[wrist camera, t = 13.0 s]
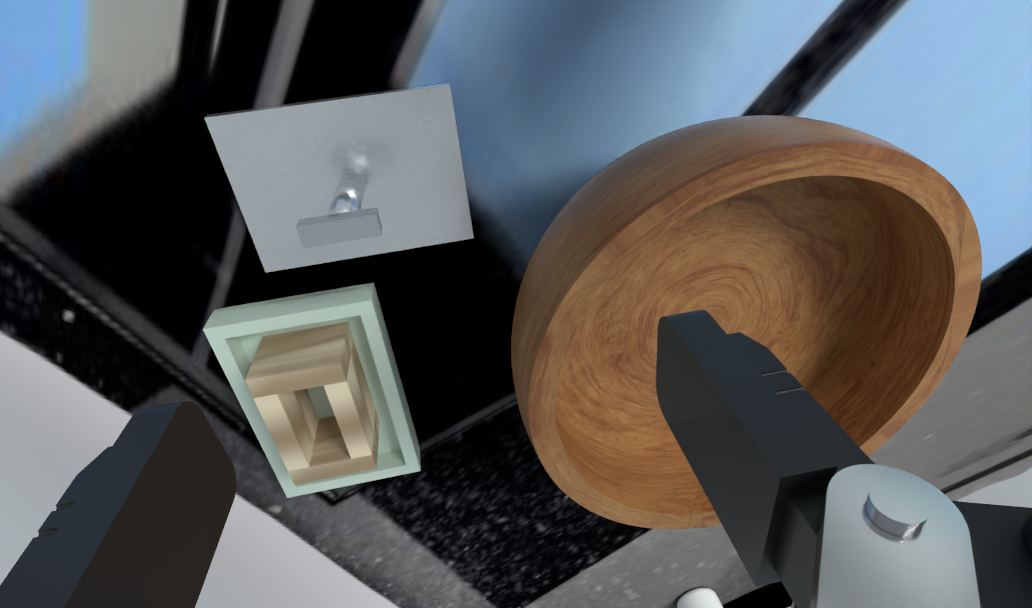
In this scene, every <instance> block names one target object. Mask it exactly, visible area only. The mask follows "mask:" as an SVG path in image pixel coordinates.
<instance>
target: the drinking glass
mask: <svg viewBox="0 0 1032 608" xmlns="http://www.w3.org/2000/svg"><path fill="white" fill-rule="evenodd" d="M677 608H723V606H722V604H721V602H720V600H719V598H718V596H717V595H716V593H715V592H714V591H713V590H711V589H709V588H697V589H693V590H691V591H689V592H687V593H685V594H684V595H683V596H682V597H681V598H680V599H679V600H678V603H677Z"/></svg>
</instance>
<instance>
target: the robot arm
mask: <svg viewBox="0 0 1032 608" xmlns="http://www.w3.org/2000/svg"><path fill="white" fill-rule="evenodd" d="M656 391H657V397H658V402H659V405H660V408H661V411H662V414H663V416H664V418H665V420H666V422H667V424H668V426H669V427H670V429H671V431H672V433H673V435H674V437H675V439H676V440H677V442H678V444H679V446H680V448H681V450H682V451H683V453H684V455H685V457H686V459H687V461H688V462H689V464H690V466H691V468H692V470H693V472H694V474H695V475H696V477H697V479H698V481H699V483H700V485H701V486H702V488H703V490H704V492H705V494H706V496H707V498H708V499H709V501H710V503H711V505H712V507H713V509H714V510H715V512H716V514H717V516H718V518H719V520H720V522H721V523H722V525H723V527H724V529H725V531H726V533H727V534H728V536H729V538H730V540H731V542H732V544H733V546H734V547H735V549H736V551H737V553H738V555H739V557H740V558H741V560H742V562H743V564H744V566H745V568H746V569H747V571H748V573H749V575H750V577H751V579H752V581H753V582H754V584H755V586H760V585H765V584H770V583H774V582H779V581H782V583H783V585H784V586H785V588H786V590H787V592H788V593H789V595H790V597H791V598H792V600H793V603H792V607H791V608H1032V508H1026V507H1013V506H1002V505H990V504H979V503H968V502H959V501H951V500H950V499H949V498H948V497H947V496H946V495H945V494H943V493H942V492H941V491H940V490H939V489H937V488H936V487H934V486H933V485H931V484H930V483H928V482H927V481H925V480H923V479H921V478H919V477H917V476H915V475H913V474H910V473H908V472H906V471H903V470H900V469H897V468H893V467H889V466H884V465H876V464H875V463H874V462H873V461H872V460H871V459H870V458H869V457H868V456H867V455H866V454H865V453H864V452H863V451H862V450H861V449H860V448H859V446H858V445H857V444H856V443H855V442H854V441H853V440H852V439H851V438H850V437H849V436H848V434H847V433H846V432H845V431H844V430H843V429H842V428H841V427H840V426H839V425H838V424H837V423H836V421H835V420H834V419H833V418H832V417H831V416H830V415H829V414H828V413H827V412H826V411H825V410H824V408H823V407H822V406H821V405H820V404H819V403H818V402H817V401H816V400H815V399H814V398H813V396H812V395H811V394H810V393H809V392H808V391H804V390H803V386H802V385H801V383H800V382H799V381H798V380H797V379H796V378H795V377H794V376H793V375H792V374H791V373H788V372H787V368H786V367H785V366H784V365H783V364H782V363H781V362H780V361H779V360H778V358H777V357H776V356H775V355H774V354H773V353H772V352H771V351H770V350H769V349H768V348H767V347H766V346H764V345H762V344H760V343H758V342H757V341H755V340H753V339H751V338H749V337H748V336H746V335H744V334H742V333H741V332H737V333H732V334H726V332H725V331H724V330H723V329H722V328H721V327H720V325H719V324H718V323H717V322H716V321H715V319H714V318H713V317H712V316H711V315H710V314H709V313H708V312H707V311H706V310H697V311H691V312H686V313H680V314H675V315H669V316H664V317H661V318H660V320H659V323H658V334H657V362H656ZM235 492H236V475H235V470H234V466H233V464H232V462H231V460H230V458H229V456H228V455H227V453H226V451H225V449H224V448H223V446H222V444H221V443H220V441H219V439H218V438H217V436H216V434H215V432H214V431H213V429H212V427H211V426H210V424H209V422H208V421H207V419H206V417H205V415H204V414H203V412H202V410H201V409H200V408H199V406H198V405H197V404H195V403H193V402H191V401H186V402H181V403H175V404H170V405H164V406H159V407H153V408H148V409H142V410H139V411H138V412H136V413H135V414H134V415H133V416H132V418H131V419H130V420H129V422H128V423H127V425H126V427H125V428H124V430H123V431H122V433H121V434H120V436H119V437H118V439H117V440H116V442H115V443H114V445H113V446H111V447H108V448H107V449H105V450H104V451H103V452H102V453H101V454H100V455H99V456H98V457H96V458H95V459H94V460H93V461H92V462H91V463H90V464H89V465H88V466H87V467H85V468H84V469H83V470H82V471H81V472H80V473H79V474H78V475H77V476H76V477H75V479H74V480H73V481H72V483H71V484H70V486H69V487H68V489H67V490H66V492H65V493H64V494H63V496H62V497H61V499H60V500H59V502H58V503H57V505H56V506H57V509H56V511H52V512H51V513H50V515H49V516H48V518H47V519H46V520H45V522H44V523H43V525H42V526H41V528H40V529H39V530H38V532H39V536H38V537H36V538H33V539H32V541H31V542H30V544H29V545H28V547H27V548H26V549H25V551H24V552H23V554H22V555H21V556H20V558H19V559H18V561H17V562H16V564H15V565H14V567H13V568H12V569H11V571H10V572H9V574H8V575H7V577H6V578H5V580H4V581H3V583H2V584H1V585H0V608H195V605H196V603H197V600H198V597H199V595H200V592H201V589H202V586H203V584H204V581H205V578H206V575H207V573H208V570H209V567H210V564H211V561H212V559H213V556H214V553H215V550H216V548H217V545H218V542H219V539H220V537H221V534H222V531H223V528H224V525H225V523H226V520H227V517H228V515H229V512H230V509H231V506H232V503H233V500H234V497H235Z"/></svg>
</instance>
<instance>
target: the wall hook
mask: <svg viewBox="0 0 1032 608" xmlns="http://www.w3.org/2000/svg"><path fill="white" fill-rule="evenodd" d="M205 121H206V123H207V126H208V128H209V131H210V133H211V136H212V138H213V141H214V143H215V146H216V148H217V151H218V154H219V156H220V159H221V161H222V164H223V166H224V169H225V171H226V174H227V176H228V179H229V181H230V184H231V186H232V189H233V191H234V194H235V196H236V199H237V201H238V204H239V206H240V209H241V211H242V214H243V216H244V219H245V222H246V224H247V227H248V229H249V232H250V234H251V237H252V239H253V242H254V244H255V247H256V249H257V252H258V254H259V257H260V259H261V262H262V264H263V267H264V269H265V272H271V271H277V270H284V269H290V268H296V267H302V266H308V265H314V264H320V263H326V262H332V261H338V260H345V259H351V258H357V257H363V256H369V255H375V254H381V253H387V252H393V251H400V250H406V249H412V248H418V247H424V246H430V245H436V244H442V243H448V242H454V241H461V240H467V239H473V238H474V236H473V229H472V223H471V216H470V210H469V203H468V197H467V190H466V184H465V177H464V171H463V164H462V158H461V151H460V145H459V138H458V132H457V126H456V119H455V113H454V106H453V100H452V93H451V87H450V83H449V82H447V83H440V84H432V85H425V86H418V87H410V88H403V89H395V90H388V91H381V92H373V93H366V94H359V95H351V96H344V97H336V98H329V99H322V100H314V101H307V102H300V103H292V104H285V105H277V106H270V107H263V108H255V109H248V110H241V111H233V112H226V113H219V114H211V115H208V116H206V117H205Z"/></svg>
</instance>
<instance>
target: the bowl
mask: <svg viewBox="0 0 1032 608" xmlns="http://www.w3.org/2000/svg"><path fill="white" fill-rule="evenodd" d="M981 275H982V256H981V246H980V240H979V235H978V231H977V228H976V225H975V222H974V219H973V217H972V214H971V212H970V210H969V208H968V206H967V205H966V203H965V201H964V200H963V198H962V197H961V195H960V194H959V193H958V191H957V190H956V189H955V188H954V186H953V185H952V184H951V183H950V182H949V181H948V180H947V179H946V178H945V177H943V176H942V175H941V174H940V173H938V172H937V171H936V170H935V169H933V168H932V167H930V166H929V165H927V164H926V163H924V162H923V161H921V160H919V159H918V158H916V157H915V156H913V155H912V154H910V153H908V152H906V151H904V150H902V149H900V148H898V147H896V146H894V145H892V144H890V143H888V142H886V141H884V140H882V139H879V138H877V137H874V136H872V135H869V134H866V133H864V132H861V131H859V130H855V129H852V128H848V127H845V126H841V125H838V124H834V123H830V122H825V121H820V120H814V119H808V118H801V117H791V116H772V115H761V116H740V117H732V118H724V119H718V120H713V121H708V122H703V123H699V124H695V125H691V126H687V127H684V128H681V129H678V130H675V131H672V132H669V133H667V134H664V135H662V136H659V137H657V138H654V139H652V140H650V141H648V142H646V143H644V144H642V145H640V146H638V147H636V148H634V149H632V150H630V151H629V152H627V153H626V154H624V155H622V156H621V157H619V158H617V159H616V160H615V161H613V162H612V163H610V164H609V165H607V166H606V167H604V168H603V169H602V170H601V171H599V172H598V173H597V174H596V175H594V176H593V177H592V178H591V179H590V180H589V181H587V182H586V183H585V184H584V185H583V186H582V187H581V188H580V189H579V190H578V191H577V192H576V193H575V194H574V195H573V196H572V197H571V198H570V199H569V201H568V202H567V203H566V204H565V205H564V206H563V208H562V209H561V210H560V211H559V213H558V214H557V215H556V216H555V218H554V219H553V221H552V222H551V224H550V225H549V226H548V228H547V229H546V231H545V233H544V234H543V236H542V238H541V239H540V241H539V243H538V245H537V247H536V249H535V251H534V253H533V255H532V257H531V259H530V262H529V264H528V266H527V269H526V271H525V274H524V277H523V280H522V283H521V286H520V290H519V293H518V297H517V302H516V306H515V312H514V319H513V327H512V339H511V360H512V372H513V381H514V387H515V392H516V397H517V402H518V406H519V409H520V413H521V416H522V419H523V423H524V425H525V428H526V431H527V433H528V436H529V438H530V441H531V443H532V445H533V447H534V449H535V452H536V453H537V455H538V457H539V459H540V461H541V463H542V465H543V466H544V468H545V470H546V471H547V473H548V474H549V476H550V477H551V478H552V480H553V481H554V482H555V483H556V484H557V486H558V487H559V488H560V489H561V490H562V491H563V492H564V493H565V494H566V495H568V496H569V497H570V498H571V499H573V500H574V501H575V502H577V503H578V504H580V505H581V506H583V507H584V508H586V509H588V510H590V511H592V512H594V513H596V514H598V515H600V516H602V517H605V518H608V519H610V520H613V521H617V522H620V523H624V524H628V525H633V526H638V527H645V528H655V529H690V528H701V527H708V526H715V525H720V524H722V523H721V522H720V520H719V518H718V516H717V514H716V512H715V510H714V509H713V507H712V505H711V503H710V501H709V499H708V498H707V496H706V494H705V492H704V490H703V488H702V486H701V485H700V483H699V481H698V479H697V477H696V475H695V474H694V472H693V470H692V468H691V466H690V464H689V462H688V461H687V459H686V457H685V455H684V453H683V451H682V450H681V448H680V446H679V444H678V442H677V440H676V439H675V437H674V435H673V433H672V431H671V429H670V427H669V426H668V424H667V422H666V420H665V418H664V416H663V414H662V411H661V408H660V405H659V402H658V397H657V391H656V362H657V334H658V323H659V320H660V318H661V317H664V316H669V315H675V314H680V313H686V312H691V311H697V310H706V311H707V312H708V313H709V314H710V315H711V316H712V317H713V318H714V319H715V321H716V322H717V323H718V324H719V325H720V327H721V328H722V329H723V330H724V331H725V332H726V334H732V333H737V332H741V333H742V334H744V335H746V336H748V337H749V338H751V339H753V340H755V341H757V342H758V343H760V344H762V345H764V346H766V347H767V348H768V349H769V350H770V351H771V352H772V353H773V354H774V355H775V356H776V357H777V358H778V360H779V361H780V362H781V363H782V364H783V365H784V366H785V367H786V368H787V372H788V373H791V374H792V375H793V376H794V377H795V378H796V379H797V380H798V381H799V382H800V383H801V385H802V386H803V390H804V391H808V392H809V393H810V394H811V395H812V396H813V398H814V399H815V400H816V401H817V402H818V403H819V404H820V405H821V406H822V407H823V408H824V410H825V411H826V412H827V413H828V414H829V415H830V416H831V417H832V418H833V419H834V420H835V421H836V423H837V424H838V425H839V426H840V427H841V428H842V429H843V430H844V431H845V432H846V433H847V434H848V436H849V437H850V438H851V439H852V440H853V441H854V442H855V443H856V444H857V445H858V446H859V448H860V449H861V450H862V451H863V452H864V453H865V454H866V455H867V456H869V455H871V454H872V453H873V452H874V451H876V450H877V449H878V448H879V447H881V446H882V445H883V444H884V443H885V442H886V441H888V440H889V439H890V438H891V437H892V436H893V435H894V434H895V433H896V432H897V431H898V430H899V429H900V428H901V427H902V426H903V425H904V424H905V423H906V422H907V421H908V420H909V419H910V418H911V417H912V416H913V415H914V414H915V413H916V412H917V411H918V409H919V408H920V407H921V406H922V405H923V404H924V402H925V401H926V400H927V399H928V397H929V396H930V395H931V394H932V392H933V391H934V390H935V388H936V387H937V386H938V384H939V383H940V381H941V380H942V378H943V377H944V375H945V374H946V372H947V371H948V369H949V368H950V366H951V364H952V363H953V361H954V359H955V357H956V355H957V353H958V352H959V350H960V348H961V346H962V344H963V341H964V339H965V337H966V335H967V332H968V330H969V327H970V325H971V322H972V319H973V316H974V313H975V309H976V305H977V301H978V296H979V291H980V284H981Z"/></svg>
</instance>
